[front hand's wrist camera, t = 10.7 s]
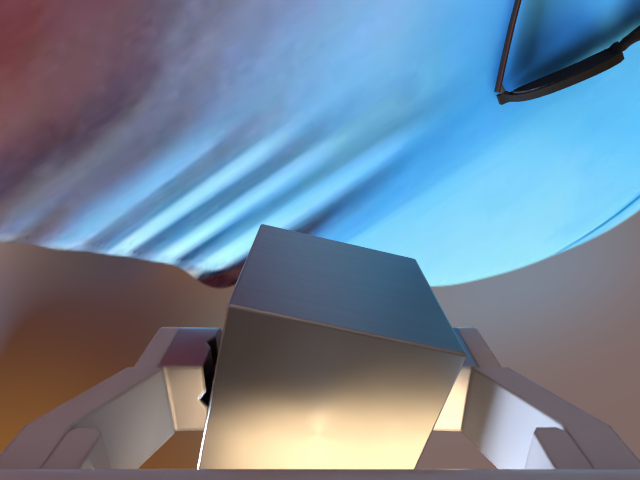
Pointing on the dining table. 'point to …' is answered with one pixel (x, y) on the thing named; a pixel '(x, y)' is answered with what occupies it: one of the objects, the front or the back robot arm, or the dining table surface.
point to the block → (328, 360)
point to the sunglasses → (563, 76)
